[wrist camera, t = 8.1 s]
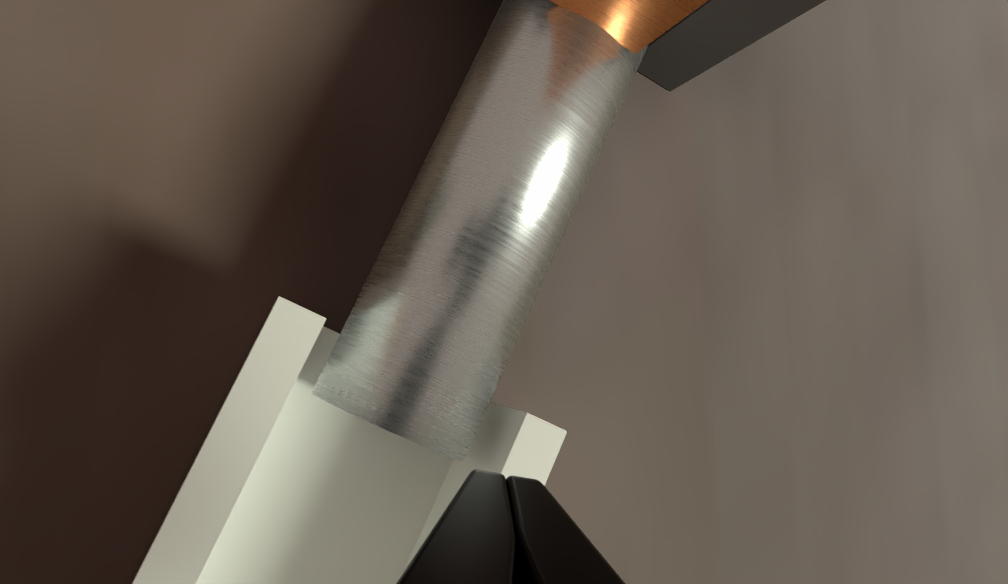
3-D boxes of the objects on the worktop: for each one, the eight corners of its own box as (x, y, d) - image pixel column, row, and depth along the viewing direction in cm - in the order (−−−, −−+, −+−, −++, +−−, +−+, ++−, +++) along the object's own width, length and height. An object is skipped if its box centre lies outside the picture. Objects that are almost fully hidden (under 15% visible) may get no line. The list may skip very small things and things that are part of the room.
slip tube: (442, 448, 19) (638, 566, 9) (306, 387, 18) (365, 449, 8) (681, -82, 22) (1024, -418, 12) (573, -157, 21) (850, -585, 11)
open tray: (329, 810, 19) (351, 944, 15) (57, 729, 17) (-6, 854, 13) (504, 412, 21) (567, 431, 17) (273, 304, 19) (278, 296, 15)
